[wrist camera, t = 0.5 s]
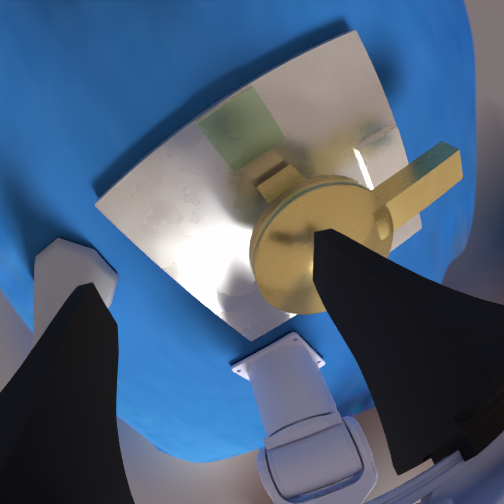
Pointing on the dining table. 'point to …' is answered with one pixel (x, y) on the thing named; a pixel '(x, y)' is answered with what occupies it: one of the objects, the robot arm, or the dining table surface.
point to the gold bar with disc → (336, 220)
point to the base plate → (255, 172)
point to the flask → (67, 279)
